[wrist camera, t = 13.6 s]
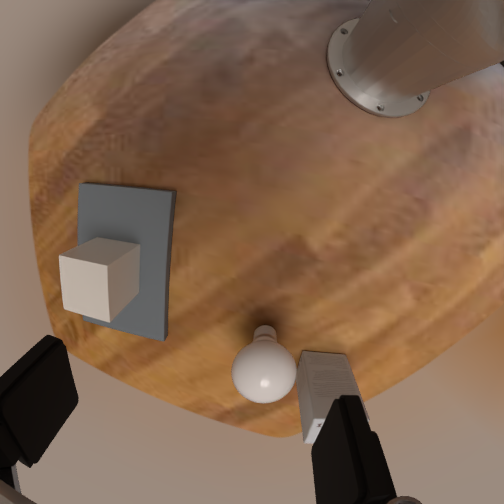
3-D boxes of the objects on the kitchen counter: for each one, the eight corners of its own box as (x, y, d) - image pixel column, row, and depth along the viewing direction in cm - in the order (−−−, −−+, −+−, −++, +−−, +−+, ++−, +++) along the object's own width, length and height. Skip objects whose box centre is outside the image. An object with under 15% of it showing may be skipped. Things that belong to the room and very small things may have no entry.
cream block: (97, 237, 31) (58, 255, 24) (140, 244, 31) (107, 265, 24) (98, 282, 33) (63, 308, 26) (139, 292, 33) (110, 322, 25)
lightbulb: (229, 339, 35) (216, 400, 25) (255, 299, 34) (249, 354, 23) (274, 360, 36) (274, 423, 25) (301, 323, 34) (313, 383, 24)
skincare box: (294, 375, 37) (301, 444, 25) (302, 349, 35) (313, 418, 24) (337, 378, 37) (355, 444, 25) (347, 353, 35) (371, 419, 24)
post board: (85, 182, 31) (44, 188, 23) (176, 191, 31) (148, 198, 23) (88, 315, 36) (57, 344, 28) (167, 335, 36) (146, 372, 28)
